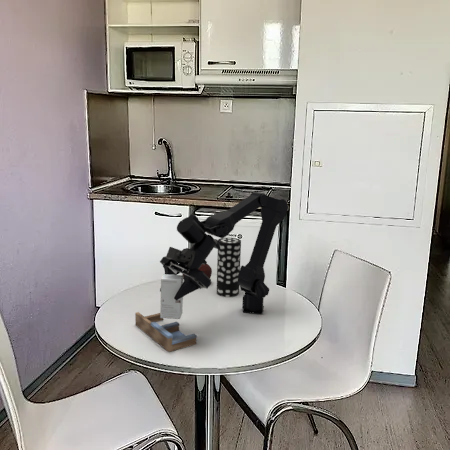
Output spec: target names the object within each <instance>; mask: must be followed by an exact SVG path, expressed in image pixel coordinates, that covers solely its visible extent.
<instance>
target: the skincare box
mask: <svg viewBox="0 0 450 450" xmlns="http://www.w3.org/2000/svg"><path fill="white" fill-rule="evenodd" d="M183 277H184V276H183V275H181V274H177V275H168V274H165V273H164V274H163V275H162V276H161V278H160V288H161V292H160V312H159V313H160V318H163V319H171V320H181V318H182V315H183V303H184V302H183V300H184V298H183V297H182V298H180V299H178V300H175V299H174V297H175V295H176V293H177V292H178V290H179V288H180V287H181V285H182V284H183V282H184V279H183Z"/></svg>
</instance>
